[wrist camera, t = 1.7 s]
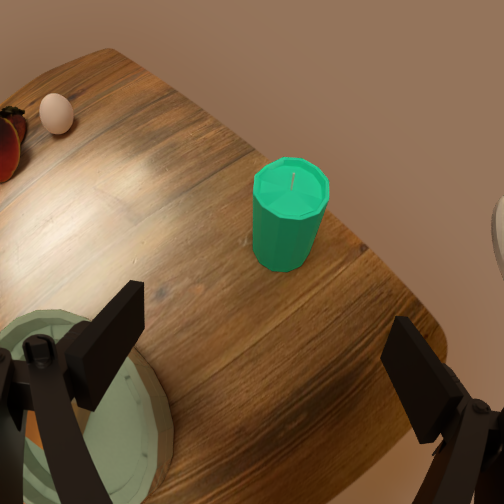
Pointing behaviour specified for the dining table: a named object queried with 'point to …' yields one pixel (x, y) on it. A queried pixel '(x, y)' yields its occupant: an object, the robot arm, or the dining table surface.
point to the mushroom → (10, 140)
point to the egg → (56, 113)
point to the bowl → (104, 422)
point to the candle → (287, 212)
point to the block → (32, 426)
